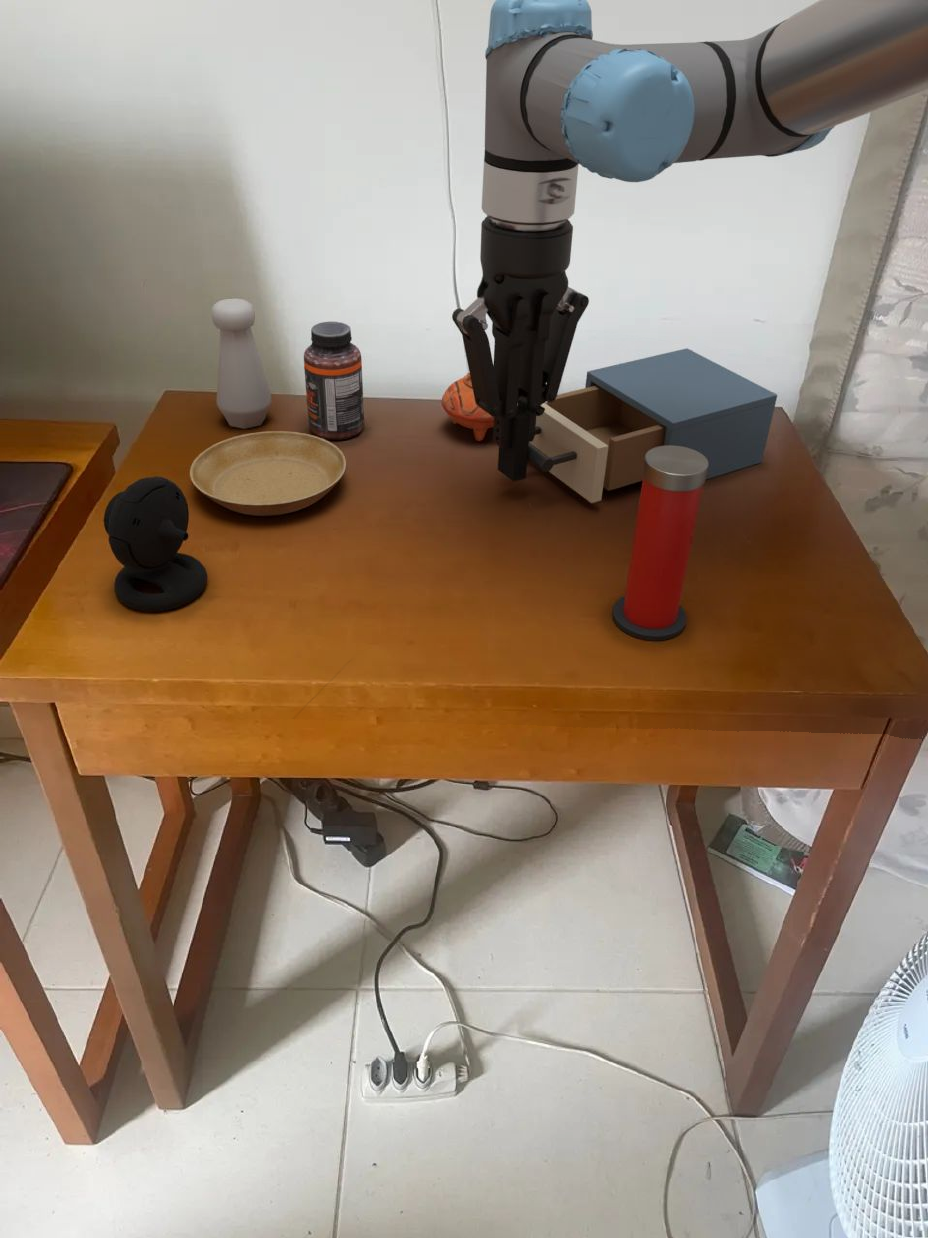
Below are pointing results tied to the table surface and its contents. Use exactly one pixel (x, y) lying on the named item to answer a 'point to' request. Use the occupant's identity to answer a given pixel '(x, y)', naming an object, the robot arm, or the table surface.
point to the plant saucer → (268, 472)
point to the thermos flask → (663, 534)
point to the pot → (466, 408)
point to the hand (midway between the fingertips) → (511, 473)
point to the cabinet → (696, 405)
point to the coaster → (645, 632)
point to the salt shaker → (239, 366)
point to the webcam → (153, 545)
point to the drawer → (593, 441)
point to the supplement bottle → (333, 382)
